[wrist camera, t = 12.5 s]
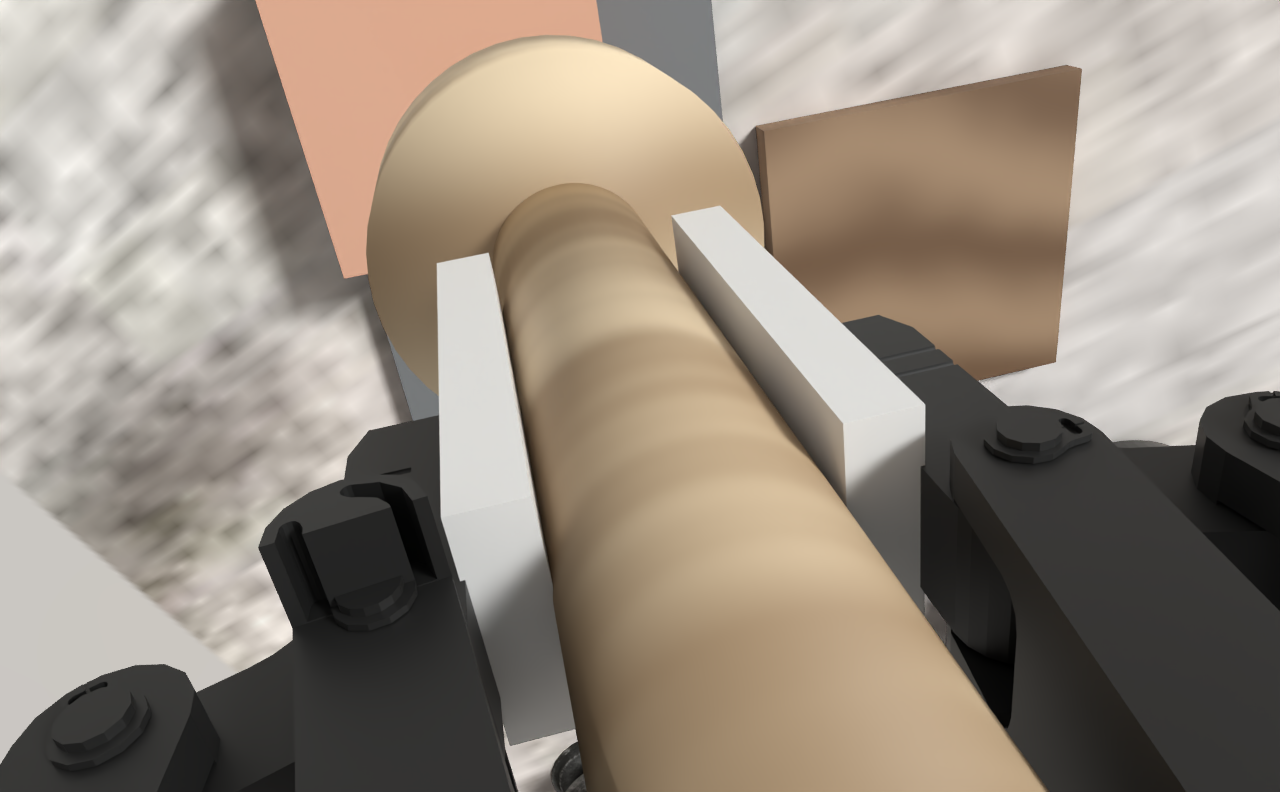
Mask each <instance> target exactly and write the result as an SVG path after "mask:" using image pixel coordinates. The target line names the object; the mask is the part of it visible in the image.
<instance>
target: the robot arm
mask: <svg viewBox="0 0 1280 792" xmlns="http://www.w3.org/2000/svg"><path fill="white" fill-rule="evenodd" d="M671 217H672V225H673V233H674V240H675V248H676V256H677V263H678V271H679V273H680V275H681V276H682V277H683V279H684V280H685V282H686V283H687V284H688V286H689V287H690V289H691V290H692V291H693V293H694V294H695V296H696V297H697V298H698V300H699V301H700V303H701V304H702V305H703V307H704V308H705V310H706V311H707V312H708V314H709V315H710V317H711V318H712V319H713V321H714V322H715V324H716V325H717V326H718V328H719V329H720V331H721V332H722V333H723V335H724V336H725V338H726V339H727V340H728V342H729V343H730V345H731V346H732V347H733V349H734V350H735V352H736V353H737V354H738V356H739V357H740V359H741V360H742V361H743V363H744V364H745V366H746V367H747V368H748V370H749V371H750V373H751V374H752V375H753V377H754V378H755V380H756V381H757V382H758V384H759V385H760V387H761V388H762V389H763V391H764V392H765V394H766V395H767V396H768V398H769V399H770V401H771V402H772V403H773V405H774V406H775V408H776V409H777V410H778V412H779V413H780V415H781V416H782V417H783V419H784V420H785V422H786V423H787V424H788V426H789V427H790V429H791V430H792V432H793V433H794V434H795V436H796V437H797V439H798V440H799V441H800V443H801V444H802V446H803V447H804V448H805V450H806V451H807V453H808V454H809V455H810V457H811V458H812V460H813V461H814V462H815V464H816V465H817V467H818V468H819V469H820V471H821V472H822V474H823V475H824V476H825V478H826V479H827V481H828V482H829V483H830V485H831V486H832V488H833V489H834V490H835V492H836V493H837V495H838V496H839V497H840V499H841V500H842V502H843V503H844V504H845V506H846V507H847V509H848V510H849V511H850V513H851V514H852V516H853V517H854V518H855V520H856V521H857V523H858V524H859V525H860V527H861V528H862V530H863V531H864V532H865V534H866V535H867V537H868V538H869V539H870V541H871V542H872V544H873V545H874V546H875V548H876V549H877V551H878V552H879V553H880V555H881V556H882V558H883V559H884V560H885V562H886V563H887V565H888V566H889V567H890V569H891V570H892V572H893V573H894V574H895V576H896V577H897V579H898V580H899V581H900V583H901V584H902V586H903V587H904V588H905V590H906V591H907V593H908V594H909V595H910V597H911V598H912V600H913V601H914V602H915V604H916V605H917V607H918V608H919V609H920V611H921V612H922V614H923V615H924V592H925V594H926V595H927V597H928V598H929V599H930V601H931V602H932V603H933V605H934V606H935V607H936V609H937V610H938V611H939V613H940V614H941V615H942V617H943V618H944V620H945V621H946V622H947V633H946V647H947V649H948V650H949V652H950V653H951V654H952V656H953V657H954V659H955V660H956V661H957V663H958V664H959V666H960V667H961V668H962V670H963V671H964V673H965V674H966V675H967V677H968V678H969V680H970V681H971V682H972V684H973V685H974V687H975V688H976V689H977V691H978V692H979V694H980V695H981V696H982V698H983V699H984V701H985V702H986V703H987V705H988V706H989V708H990V709H991V710H992V712H993V713H994V715H995V716H996V717H997V719H998V720H999V722H1000V723H1001V724H1002V726H1003V727H1004V729H1005V730H1006V731H1007V733H1008V734H1009V736H1010V737H1011V738H1012V740H1013V741H1014V743H1015V744H1016V745H1017V747H1018V748H1019V750H1020V751H1021V752H1022V754H1023V755H1024V757H1025V758H1026V759H1027V761H1028V762H1029V764H1030V765H1031V766H1032V768H1033V769H1034V771H1035V772H1036V773H1037V775H1038V776H1039V778H1040V779H1041V780H1042V782H1043V783H1044V785H1045V786H1046V787H1047V789H1048V790H1049V792H1280V392H1278V391H1273V393H1270V392H1269V391H1266V392H1254V393H1247V394H1242V395H1236V396H1231V397H1225V398H1223V399H1221V400H1219V401H1217V402H1215V403H1214V404H1212V405H1210V406H1208V407H1206V409H1205V411H1204V413H1203V415H1202V417H1201V419H1200V422H1199V428H1198V434H1197V440H1196V445H1189V446H1169V445H1166V444H1162V443H1158V442H1152V441H1141V440H1131V441H1119V442H1112V441H1111V440H1110V439H1109V438H1108V437H1107V436H1106V435H1105V434H1104V433H1103V432H1102V431H1100V430H1099V429H1097V428H1096V427H1095V426H1093V425H1092V424H1090V423H1089V422H1087V421H1086V420H1084V419H1083V418H1080V417H1077V416H1074V415H1072V414H1069V413H1066V412H1063V411H1060V410H1057V409H1050V408H1043V407H1035V406H1027V405H1026V406H1007V405H1006V404H1005V403H1003V402H1002V401H1001V400H1000V399H999V398H997V397H996V396H995V395H994V394H993V393H991V392H990V391H989V390H988V389H987V388H985V387H984V386H983V385H982V384H981V383H979V382H978V381H977V380H976V379H975V378H973V377H972V376H971V375H970V374H969V373H967V372H966V371H965V370H964V369H963V368H961V367H960V366H959V365H958V364H956V365H954V364H953V360H952V359H951V358H949V357H948V356H947V355H946V354H945V353H943V352H942V351H941V350H940V349H935V345H934V344H933V343H931V342H930V341H929V340H928V339H927V338H925V337H924V336H923V335H922V334H921V333H919V332H918V331H917V330H916V329H915V328H913V327H911V326H909V325H906V324H903V323H900V322H897V321H895V320H892V319H889V318H886V317H883V316H880V315H875V316H871V317H866V318H862V319H857V320H853V321H848V322H843V323H841V322H840V321H839V320H838V319H837V318H836V317H835V316H834V315H833V314H832V313H831V312H829V311H828V310H827V309H826V308H825V307H824V306H823V305H822V304H821V303H820V302H819V301H818V300H817V299H816V298H815V297H814V296H813V295H812V294H811V293H810V292H809V291H808V290H807V289H806V288H805V287H804V286H803V285H802V284H801V283H800V282H799V281H798V280H796V279H795V278H794V277H793V276H792V275H791V274H790V273H789V272H788V271H787V270H786V269H785V268H784V267H783V266H782V265H781V264H780V263H779V262H778V261H777V260H776V259H775V258H774V257H773V256H772V255H771V254H770V253H769V252H768V251H767V250H766V249H765V248H764V247H762V246H761V245H760V244H759V243H758V242H757V241H756V240H755V239H754V238H753V237H752V236H751V235H750V234H749V233H748V232H747V231H746V230H745V229H744V228H743V227H742V226H741V225H740V224H739V223H738V222H737V221H736V220H735V219H734V218H733V217H732V216H731V215H730V214H728V213H727V212H726V211H725V210H724V209H723V208H722V207H721V206H716V207H711V208H706V209H701V210H696V211H691V212H686V213H681V214H676V215H671ZM437 309H438V372H439V415H437V416H433V417H428V418H424V419H419V420H415V421H410V422H406V423H401V424H397V425H392V426H388V427H383V428H379V429H374V430H369V431H368V432H367V434H366V435H365V436H364V437H363V439H362V440H361V441H360V442H359V444H358V445H357V446H356V447H355V448H354V450H353V451H352V452H351V453H350V455H349V456H348V458H347V465H346V471H345V478H344V480H339V481H337V482H334V483H332V484H329V485H327V486H324V487H322V488H319V489H317V490H314V491H312V492H309V493H308V494H306V495H305V496H303V497H302V498H300V499H298V500H297V501H295V502H294V503H292V504H291V505H289V506H287V507H286V508H284V509H283V510H282V511H281V512H280V513H279V514H278V515H277V516H276V517H275V519H274V520H273V521H272V522H271V523H270V524H269V525H268V526H267V527H266V528H265V531H264V533H263V536H262V539H261V541H260V544H259V547H258V548H259V551H260V553H261V555H262V558H263V560H264V562H265V565H266V567H267V569H268V572H269V574H270V576H271V579H272V581H273V583H274V586H275V588H276V591H277V593H278V595H279V598H280V600H281V602H282V605H283V607H284V609H285V612H286V614H287V616H288V619H289V621H290V623H291V626H292V628H293V640H292V641H291V642H290V643H288V644H287V645H286V646H284V647H283V648H282V649H280V650H279V651H278V652H276V653H275V654H273V655H272V656H270V657H268V658H266V659H264V660H263V661H261V662H259V663H257V664H255V665H253V666H252V667H250V668H248V669H246V670H243V671H241V672H239V673H237V674H235V675H233V676H231V677H229V678H227V679H224V680H222V681H220V682H218V683H216V684H214V685H212V686H209V687H207V688H205V689H203V690H201V691H199V692H197V693H196V691H195V690H194V688H193V686H192V684H191V682H190V680H189V678H188V677H187V675H186V673H185V672H183V671H180V670H177V669H175V668H172V667H170V666H168V665H165V664H159V665H135V666H132V667H128V668H125V669H122V670H118V671H115V672H112V673H108V674H105V675H102V676H100V677H98V678H96V679H94V680H92V681H89V682H87V684H84V685H81V686H79V687H78V688H76V689H74V690H73V691H71V692H69V693H67V694H66V695H64V696H63V697H62V698H61V699H59V700H58V701H57V702H55V703H54V704H53V705H52V706H50V707H49V708H48V709H46V710H45V711H44V712H43V713H41V714H40V715H39V716H37V717H36V718H35V719H34V720H33V722H32V723H31V724H30V725H29V726H28V727H27V729H26V730H25V731H24V732H23V733H22V735H21V736H20V737H19V738H18V739H17V741H16V742H15V743H14V744H13V745H12V747H11V748H10V750H9V751H8V753H7V755H6V757H5V758H4V759H3V761H2V763H1V764H0V792H518V789H517V786H516V782H515V779H514V776H513V773H512V769H511V766H510V763H509V760H508V756H507V753H506V750H505V743H504V732H503V724H504V728H505V731H506V734H507V737H508V741H509V744H510V746H512V745H516V744H520V743H523V742H527V741H531V740H535V739H539V738H542V737H546V736H550V735H554V734H558V733H561V732H565V731H569V730H573V729H575V723H574V718H573V712H572V707H571V701H570V695H569V690H568V684H567V679H566V673H565V667H564V662H563V656H562V651H561V645H560V640H559V634H558V628H557V623H556V617H555V611H554V605H553V583H552V578H551V573H550V567H549V562H548V556H547V551H546V545H545V540H544V535H543V529H542V524H541V518H540V513H539V507H538V502H537V497H536V491H535V486H534V480H533V475H532V469H531V464H530V459H529V453H528V448H527V442H526V437H525V431H524V426H523V421H522V415H521V410H520V404H519V399H518V393H517V388H516V383H515V377H514V372H513V366H512V361H511V355H510V350H509V345H508V339H507V334H506V328H505V323H504V317H503V312H502V308H501V304H500V299H499V295H498V291H497V287H496V282H495V278H494V274H493V269H492V265H491V261H490V257H489V253H485V254H480V255H475V256H470V257H465V258H460V259H455V260H450V261H445V262H440V263H437Z"/></svg>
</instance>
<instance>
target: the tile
mask: <svg viewBox="0 0 1280 792" xmlns="http://www.w3.org/2000/svg"><path fill="white" fill-rule="evenodd" d="M255 1H256V4H257V7H258V10H259V13H260V17H261V20H262V23H263V26H264V29H265V32H266V35H267V38H268V42H269V45H270V48H271V51H272V54H273V57H274V60H275V64H276V67H277V70H278V73H279V76H280V79H281V82H282V85H283V89H284V92H285V95H286V98H287V101H288V104H289V107H290V111H291V114H292V117H293V120H294V123H295V126H296V129H297V132H298V136H299V139H300V142H301V145H302V148H303V151H304V154H305V158H306V161H307V164H308V167H309V170H310V173H311V176H312V179H313V183H314V186H315V189H316V192H317V195H318V198H319V201H320V205H321V208H322V211H323V214H324V217H325V220H326V223H327V226H328V230H329V233H330V236H331V239H332V242H333V245H334V248H335V252H336V255H337V258H338V261H339V264H340V267H341V270H342V273H343V277H344V279H345V278H350V277H355V276H360V275H365V274H368V270H367V258H366V244H367V226H368V221H369V216H370V211H371V206H372V201H373V196H374V192H375V187H376V182H377V178H378V173H379V168H380V164H381V161H382V158H383V156H384V153H385V150H386V147H387V144H388V142H389V140H390V138H391V136H392V134H393V132H394V130H395V128H396V126H397V124H398V122H399V120H400V119H401V117H402V116H403V115H404V113H405V112H406V110H407V109H408V108H409V106H410V105H411V103H412V102H413V101H414V99H415V98H416V97H417V96H418V95H419V94H420V93H421V92H422V91H423V90H424V89H425V88H426V87H427V86H428V85H429V84H430V83H431V82H432V81H433V80H434V79H435V78H437V77H438V76H439V75H440V74H442V73H443V72H444V71H445V70H447V69H448V68H449V67H451V66H452V65H454V64H455V63H457V62H459V61H461V60H462V59H464V58H466V57H467V56H469V55H471V54H473V53H475V52H477V51H480V50H482V49H485V48H487V47H490V46H492V45H494V44H497V43H501V42H505V41H509V40H513V39H517V38H521V37H531V36H540V35H566V36H576V37H581V38H587V39H593V40H597V41H600V42H602V35H601V28H600V22H599V15H598V9H597V2H596V0H255Z"/></svg>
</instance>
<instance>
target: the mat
mask: <svg viewBox="0 0 1280 792" xmlns="http://www.w3.org/2000/svg"><path fill="white" fill-rule="evenodd" d="M596 2H597V9H598V15H599V22H600V28H601V35H602V42H603V43H606V44H609V45H612V46H616V47H619V48H621V49H623V50H625V51H627V52H629V53H631V54H633V55H635V56H637V57H639V58H641V59H643V60H644V61H646V62H647V63H649V64H651V65H652V66H654V67H655V68H657V69H658V70H660V71H662V72H663V73H665V74H666V75H668V76H669V77H671V78H672V79H674V80H675V81H677V82H678V83H680V84H681V85H683V86H684V87H686V88H687V89H689V90H690V91H692V92H693V93H694V94H695V95H697V96H698V97H699V98H700V99H701V100H702V101H703V102H704V103H705V104H707V105H708V106H709V107H710V108H711V109H712V110H713V111H714V112H715V113H716V115H717V116H718V117H719V118H720V119H721V121H722V122H723V119H722V108H721V98H720V87H719V77H718V66H717V56H716V46H715V35H714V25H713V14H712V4H711V0H596ZM387 337H388V335H387ZM388 341H389V344H390V347H391V350H392V354H393V357H394V360H395V364H396V367H397V370H398V373H399V377H400V380H401V383H402V387H403V390H404V393H405V396H406V400H407V403H408V406H409V410H410V413H411V416H412V419H413V421H415V420H419V419H424V418H428V417H433V416H437V415H439V396H438V395H437V394H435V393H434V392H433V391H432V390H430V389H429V388H428V387H427V386H426V385H425V384H424V383H423V382H422V381H421V380H420V379H419V378H418V377H417V376H416V375H415V374H414V373H413V372H412V371H411V370H410V369H409V367H408V366H407V365H406V363H405V362H404V361H403V359H402V358H401V357H400V355H399V354H398V352H397V351H396V350H395V348H394V346H393V344H392V343H391V341H390V339H389V337H388Z"/></svg>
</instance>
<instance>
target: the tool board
mask: <svg viewBox="0 0 1280 792" xmlns="http://www.w3.org/2000/svg"><path fill="white" fill-rule="evenodd" d="M1081 73H1082V69H1081V68H1076V67H1072V66H1068V65H1065V66H1059V67H1054V68H1049V69H1044V70H1039V71H1034V72H1029V73H1024V74H1019V75H1014V76H1008V77H1003V78H998V79H993V80H988V81H983V82H978V83H973V84H968V85H963V86H957V87H952V88H947V89H942V90H937V91H932V92H927V93H922V94H917V95H912V96H906V97H901V98H896V99H891V100H886V101H881V102H876V103H871V104H866V105H861V106H855V107H850V108H845V109H840V110H835V111H830V112H825V113H820V114H815V115H810V116H804V117H799V118H794V119H789V120H784V121H779V122H774V123H769V124H764V125H758V126H756V134H757V146H758V159H759V172H760V184H761V197H762V210H763V221H764V235H765V248H766V250H767V251H768V252H769V253H770V254H771V255H772V256H773V257H774V258H775V259H776V260H777V261H778V262H779V263H780V264H781V265H782V266H783V267H784V268H785V269H786V270H787V271H788V272H789V273H790V274H791V275H792V276H793V277H794V278H795V279H796V280H798V281H799V282H800V283H801V284H802V285H803V286H804V287H805V288H806V289H807V290H808V291H809V292H810V293H811V294H812V295H813V296H814V297H815V298H816V299H817V300H818V301H819V302H820V303H821V304H822V305H823V306H824V307H825V308H826V309H827V310H828V311H829V312H831V313H832V314H833V315H834V316H835V317H836V318H837V319H838V320H839V321H840V322H841V323H843V322H848V321H853V320H857V319H862V318H866V317H871V316H875V315H880V316H883V317H886V318H889V319H892V320H895V321H897V322H900V323H903V324H906V325H909V326H911V327H913V328H915V329H916V330H917V331H918V332H919V333H921V334H922V335H923V336H924V337H925V338H927V339H928V340H929V341H930V342H931V343H933V344H934V345H935V349H940V350H941V351H942V352H943V353H945V354H946V355H947V356H948V357H949V358H951V359H952V360H953V364H954V365H956V364H958V365H959V366H960V367H961V368H963V369H964V370H965V371H966V372H967V373H969V374H970V375H971V376H972V377H973V378H975V379H976V380H977V381H978V380H982V379H986V378H990V377H995V376H999V375H1003V374H1008V373H1012V372H1016V371H1020V370H1025V369H1029V368H1033V367H1037V366H1042V365H1046V364H1050V363H1054V362H1056V354H1057V343H1058V332H1059V321H1060V309H1061V298H1062V287H1063V276H1064V264H1065V253H1066V242H1067V231H1068V219H1069V208H1070V197H1071V186H1072V174H1073V163H1074V152H1075V141H1076V129H1077V118H1078V107H1079V96H1080V84H1081Z"/></svg>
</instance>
